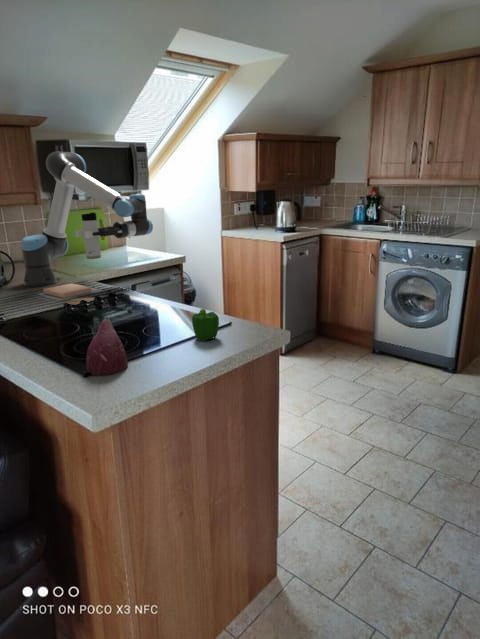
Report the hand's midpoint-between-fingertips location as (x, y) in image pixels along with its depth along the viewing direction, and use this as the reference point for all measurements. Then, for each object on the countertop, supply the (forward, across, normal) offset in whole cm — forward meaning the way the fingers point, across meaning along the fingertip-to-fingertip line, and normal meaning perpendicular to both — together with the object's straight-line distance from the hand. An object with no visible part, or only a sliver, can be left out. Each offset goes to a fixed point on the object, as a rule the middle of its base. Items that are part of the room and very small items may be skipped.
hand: (80, 234), depth 201 cm
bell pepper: (+17, -87, -26) cm, 93 cm away
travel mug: (-5, 0, -11) cm, 12 cm away
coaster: (+13, -14, -26) cm, 32 cm away
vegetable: (+49, -82, -26) cm, 99 cm away
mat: (+5, +5, -26) cm, 27 cm away
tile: (0, +5, -24) cm, 25 cm away
